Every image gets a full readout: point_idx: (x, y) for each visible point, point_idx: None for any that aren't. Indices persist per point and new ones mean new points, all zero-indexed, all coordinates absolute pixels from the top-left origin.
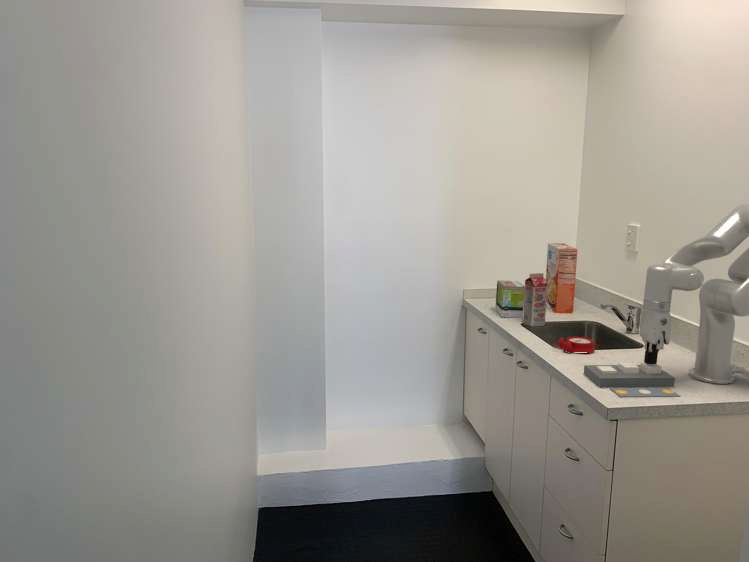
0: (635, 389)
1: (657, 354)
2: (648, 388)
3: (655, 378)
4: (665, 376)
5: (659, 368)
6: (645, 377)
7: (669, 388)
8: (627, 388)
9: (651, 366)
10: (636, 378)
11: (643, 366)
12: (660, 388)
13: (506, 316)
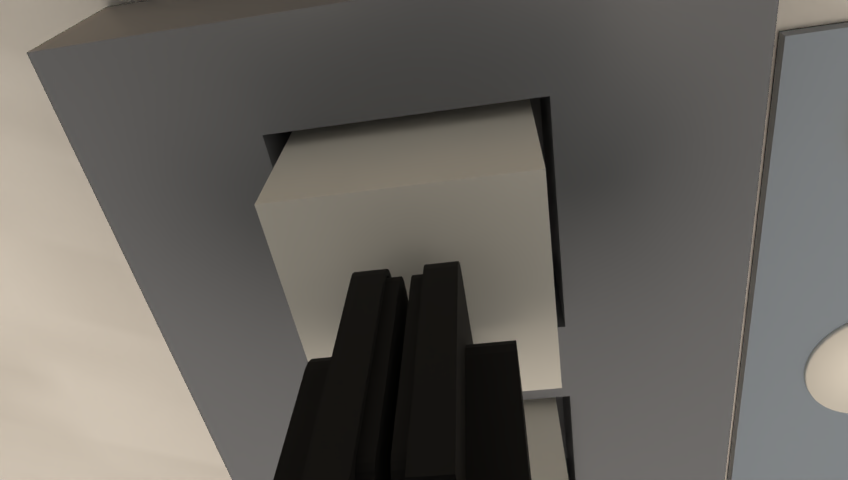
0: (782, 416)
1: (459, 413)
2: (773, 295)
3: (746, 266)
4: (696, 96)
5: (545, 194)
6: (718, 383)
7: (817, 34)
8: (745, 467)
9: (508, 322)
10: (724, 467)
11: None
12: (797, 161)
13: None
